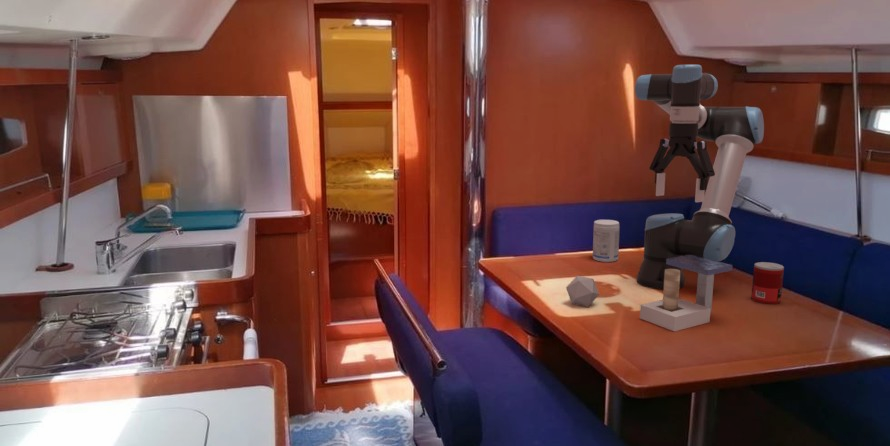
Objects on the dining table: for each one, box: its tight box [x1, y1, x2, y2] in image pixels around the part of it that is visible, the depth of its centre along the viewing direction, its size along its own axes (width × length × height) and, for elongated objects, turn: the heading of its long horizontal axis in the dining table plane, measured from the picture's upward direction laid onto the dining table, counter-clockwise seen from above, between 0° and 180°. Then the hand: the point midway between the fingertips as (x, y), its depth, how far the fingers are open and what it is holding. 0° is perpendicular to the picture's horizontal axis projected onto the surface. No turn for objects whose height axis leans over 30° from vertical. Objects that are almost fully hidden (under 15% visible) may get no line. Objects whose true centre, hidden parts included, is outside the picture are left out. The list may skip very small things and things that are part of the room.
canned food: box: [751, 261, 785, 305], centre depth 192 cm, size 8×8×11 cm
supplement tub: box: [592, 219, 620, 263], centre depth 241 cm, size 10×10×15 cm
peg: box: [662, 269, 680, 312], centre depth 174 cm, size 4×4×14 cm
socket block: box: [639, 297, 712, 332], centre depth 176 cm, size 12×14×4 cm
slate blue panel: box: [666, 255, 733, 315], centre depth 179 cm, size 14×10×16 cm
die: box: [565, 275, 600, 307], centre depth 190 cm, size 8×9×10 cm
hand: (678, 198), depth 179 cm, fingers open, 13 cm apart
